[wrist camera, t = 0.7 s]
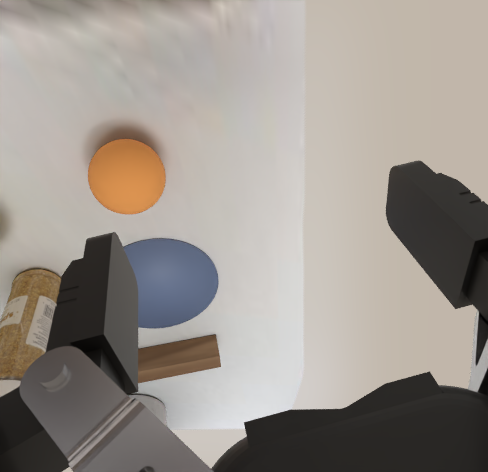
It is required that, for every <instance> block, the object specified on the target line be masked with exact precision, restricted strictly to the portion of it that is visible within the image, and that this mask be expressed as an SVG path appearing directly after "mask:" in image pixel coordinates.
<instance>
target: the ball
mask: <svg viewBox="0 0 488 472" xmlns="http://www.w3.org/2000/svg"><path fill="white" fill-rule="evenodd" d="M88 182H89V186H90V189H91V191H92V193H93V195H94V196H95V198H96V199H97V200H98V201H99V202H100V203H101V204H102V205H103V206H104V207H106V208H107V209H109V210H111V211H113V212H116V213H120V214H136V213H140V212H143V211H145V210H147V209H149V208H150V207H152V206H153V205H154V204H155V203H156V202H157V201H158V199H159V198H160V196H161V195H162V193H163V190H164V187H165V169H164V166H163V163H162V161H161V159H160V158H159V156H158V155H157V154H156V152H155V151H154V150H152V149H151V148H150V147H149V146H147V145H146V144H144V143H142V142H139V141H136V140H132V139H118V140H114V141H111V142H109V143H107V144H105V145H104V146H102V147H101V148H100V149H99V150H98V151H97V152H96V153H95V155H94V156H93V158H92V159H91V162H90V165H89V169H88Z"/></svg>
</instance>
